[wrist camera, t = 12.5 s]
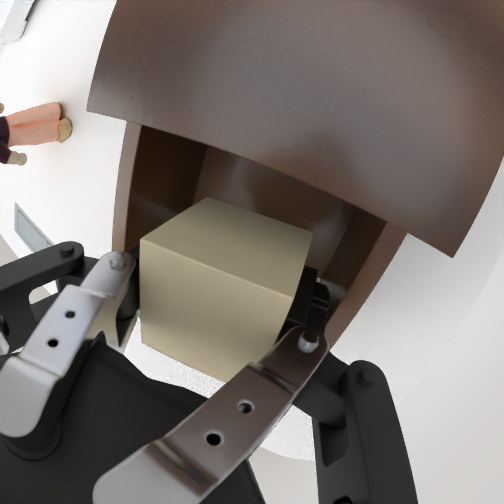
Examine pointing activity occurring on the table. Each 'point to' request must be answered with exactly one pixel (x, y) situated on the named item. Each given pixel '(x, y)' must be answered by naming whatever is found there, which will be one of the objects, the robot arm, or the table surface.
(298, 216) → the drawer
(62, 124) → the grandmother figurine
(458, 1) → the cabinet
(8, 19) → the telephone
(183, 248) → the block
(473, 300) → the table surface
